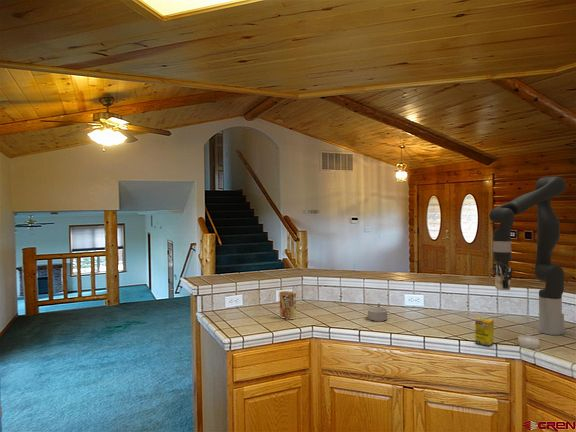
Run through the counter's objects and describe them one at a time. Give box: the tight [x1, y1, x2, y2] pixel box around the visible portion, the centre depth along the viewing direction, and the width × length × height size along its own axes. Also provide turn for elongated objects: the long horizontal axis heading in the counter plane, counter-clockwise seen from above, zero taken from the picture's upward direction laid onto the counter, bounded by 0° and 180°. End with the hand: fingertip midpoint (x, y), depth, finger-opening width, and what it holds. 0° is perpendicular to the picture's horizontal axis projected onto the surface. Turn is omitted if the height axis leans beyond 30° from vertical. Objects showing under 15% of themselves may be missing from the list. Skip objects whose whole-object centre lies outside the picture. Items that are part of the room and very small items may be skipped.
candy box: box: [279, 290, 298, 318], centre depth 220 cm, size 9×4×15 cm, turn 67°
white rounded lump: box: [517, 334, 540, 350], centre depth 171 cm, size 8×8×4 cm
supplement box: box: [474, 317, 495, 348], centre depth 174 cm, size 6×6×11 cm
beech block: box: [494, 274, 511, 291], centre depth 181 cm, size 4×4×6 cm
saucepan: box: [366, 302, 389, 322], centre depth 220 cm, size 12×20×6 cm, turn 163°
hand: (502, 287), depth 181 cm, fingers closed on beech block, 4 cm apart
